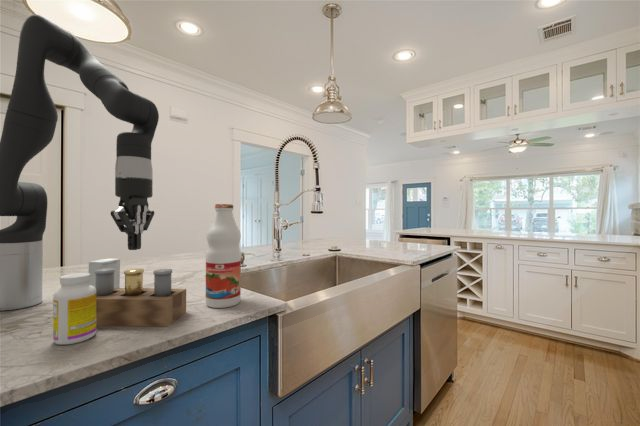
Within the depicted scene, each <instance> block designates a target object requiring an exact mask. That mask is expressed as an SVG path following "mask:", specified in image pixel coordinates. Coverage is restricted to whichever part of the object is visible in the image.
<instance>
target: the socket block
mask: <svg viewBox="0 0 640 426" xmlns="http://www.w3.org/2000/svg"><path fill="white" fill-rule="evenodd" d="M186 313H187V288H171V295H169V296H167V297H154V287H153V288H143V294H141V295H139V296H125V287H120V288H114V293H113V294H111V295H108V296H96V327H97V326H99V327H100V326H101V327H102V326H103V327H106V326H107V327H108V326H110V327H112V326H115V327H168V326H170V325H171V324H173V322H175V321H177V320H178V319H179V318H180V317H182V316H183V315H184V314H186Z"/></svg>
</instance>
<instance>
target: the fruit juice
mask: <svg viewBox="0 0 640 426" xmlns="http://www.w3.org/2000/svg"><path fill="white" fill-rule="evenodd" d="M214 208H215V209H214V210H215V214H214V217H213V220H212V221H211V222H212V223H211V225H210V227H209V229H207V233H206V242H207V245H208V247H207V250H206V254H205V304H206V306H207V307H209V308H213V309H224V308H230V307H234V306H237V305H238V304H239V303H240V301H241V295H242V294H241V290H242V289H241V288H242V287H241V285H242V284H241V283H242V282H241V281H242V277H241V276H242V275H241V273H242V270H241V269H242V252H241V248H240V245H239V244H240V241H241V230H240V229H239V228H238V226H237V223H236V220H235V217H234V214H233V210H234V204H233V203H231V204H230V203H229V204H228V203H227V204H226V203H225V204H224V203H221V204H220V203H216V204H214Z"/></svg>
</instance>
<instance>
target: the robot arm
mask: <svg viewBox="0 0 640 426" xmlns="http://www.w3.org/2000/svg"><path fill="white" fill-rule="evenodd" d="M46 61H49V62H50V63H53V64H55V65H57V66H61V67H64V68H66V69H68V70H70V71H72V72H73V73H76V74H78V76H79V79H80V82H81V83H82V85H84V87H85V88H86V89H87V90H88V91H89V92H91V94H92V95H94V96H95V97H96V98H97V99H98V100H100V102H101V103H102V105H103V106H104V109H106V111H107V112H108V113H109V114H110V115H111V116H113V117H114V118H116V119H117V120H119V121H122V122H126V123H128V124H131V125H133V126H132V130H131V131H122V132H120V133H118V134H117V136H116V143H115V144H116V149H115V151H116V158H115V165H114V166H115V167H114V178H115V179H114V180H115V181H114V182H115V183H114V184H115V185H114V195H115V196H116V197H118V198H119V201H118V208H117V209H116V210H111V212H110V216H111V218H112V220H113V221H114V223H115V225H116V226H117V228H118V230H119V231H120V232H121V233H125V234H126V235H127V249H128V250H129V251H137V250H141V248H142V234H143V233H144V231H148V229H149V227H150V225H151V222H152V220H153V218H154V216H155V211H154V210H150V208H149V201H148V199H150V198H152V197H153V183H154V182H153V181H154V180H153V165H152V143H153V140H154V138H155V135H156V130H157V127H158V123H159V118H160V116H159V111H158V107H157V106H156V104H155V102H153V101H152V100H150V99H148V98H146V97H144V96H141V95H140V94H137V93H135V92H132V91H131V90H130V89H129V87H128V86H127V84H126V83H125V82H124V81H123V80H122V79H121V78H119V76H117V75H116V74H115V73H113V72H112V71H111V70H110V69H108V68H107V67H106V66H104V65H103V64H102V63H101V62H100V61H99V60H97V58H96V57H95V56H94V55H93V53H91V52H90V51H89V50H88V48H87V47H86V46H85V45H84V43H83V42H82V41H81V40H80V39H79V38H78V37H77V36H76V35H75V34H74V33H72V32H70V31H69V30H67V29H65V28H63V27H62V26H60V25H59V24H57V23H55V22H53V21H51V20H49V19H48V18H46V17H44V16H42V15H40V14H33V13H32V14H31V15H28V16H27V17H26V19H25V20H24V21H23V24H22V26H21V29H20V33H19V40H18V48H17V59H16V68H15V69H16V70H15V76H14V80H13V84H12V85H13V86H12V88H11V89H12V90H11V93H10V98H9V102H8V105H7V108H6V113H5V117H4V120H3V128H2V131H1V136H0V217H16V219H15V222H13V223H12V224H10V225H9V226H6V227H4V228H2V229H0V311H13V310H18V309H19V310H20V309H25V308H30V307H33V306H36V305H38V304H40V303H43V276H44V275H43V272H44V271H43V269H44V268H43V265H44V264H43V260H44V259H43V248H44V247H43V246H44V245H43V242H44V241H43V237H44V236H43V235H44V233H45V232H46V227H47V226H46V225H47V217H48V216H47V215H48V195H47V192H46V190H45V188H44V187H43V186H42V185H40V184H38V183H36V182H34V183H33V182H24V181H19V180H20V176H21V174H22V172H23V170H24V168H25V166H26V165H27V164H28V163H29V162H30V161H31V160H32V159H33V158H35V157H36V156H37V155H39V154H40V153H41V151H43V150H44V149H46V147H48V145H50V143H51V142H52V140H53V139H54V136H55V133H56V128H57V125H58V123H57V122H58V118H59V117H58V116H59V115H58V110H57V107H56V105H55V102H54V101H53V98H52V96H51V93H50V91H49V89H48V87H47V82H46V79H45V65H46Z"/></svg>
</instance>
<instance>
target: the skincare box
mask: <svg viewBox="0 0 640 426" xmlns="http://www.w3.org/2000/svg"><path fill="white" fill-rule="evenodd" d="M105 268H115V272H114V288H121V287H120V284H121V283H120V280H121V277H120V276H121V259H120V258H111V257H110V258H103V259H96V260H93V261H88V273H89V274H90V281H89V285H92V286H94V287H95V288H96V274H95V270H98V269H105Z"/></svg>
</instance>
